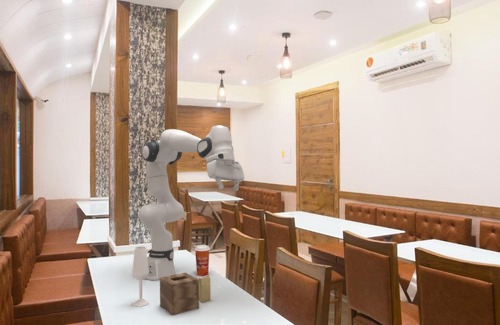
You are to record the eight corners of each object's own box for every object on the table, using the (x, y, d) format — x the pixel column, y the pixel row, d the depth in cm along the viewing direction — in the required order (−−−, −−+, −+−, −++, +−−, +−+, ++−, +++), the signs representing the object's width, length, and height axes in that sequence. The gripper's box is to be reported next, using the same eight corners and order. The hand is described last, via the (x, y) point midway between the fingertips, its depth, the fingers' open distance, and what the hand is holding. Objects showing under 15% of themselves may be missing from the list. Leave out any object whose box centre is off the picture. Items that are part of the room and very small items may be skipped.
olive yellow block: (207, 298, 166) (207, 276, 166) (210, 300, 164) (210, 277, 164) (198, 301, 164) (198, 278, 164) (201, 302, 162) (201, 279, 162)
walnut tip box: (185, 299, 166) (185, 272, 166) (198, 308, 156) (198, 279, 156) (160, 305, 158) (159, 277, 159) (171, 315, 149) (171, 284, 149)
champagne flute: (142, 299, 167) (142, 245, 167) (152, 302, 162) (151, 247, 162) (129, 303, 161) (129, 247, 161) (138, 307, 157) (138, 250, 157)
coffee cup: (195, 277, 198) (195, 248, 198) (194, 272, 206) (193, 245, 206) (211, 275, 200) (211, 247, 200) (209, 271, 208) (208, 244, 208)
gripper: (234, 164, 176) (239, 193, 172) (203, 158, 160) (207, 189, 156) (244, 160, 172) (249, 189, 168) (213, 153, 156) (218, 185, 152)
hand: (229, 189), depth 162 cm, fingers open, 8 cm apart
